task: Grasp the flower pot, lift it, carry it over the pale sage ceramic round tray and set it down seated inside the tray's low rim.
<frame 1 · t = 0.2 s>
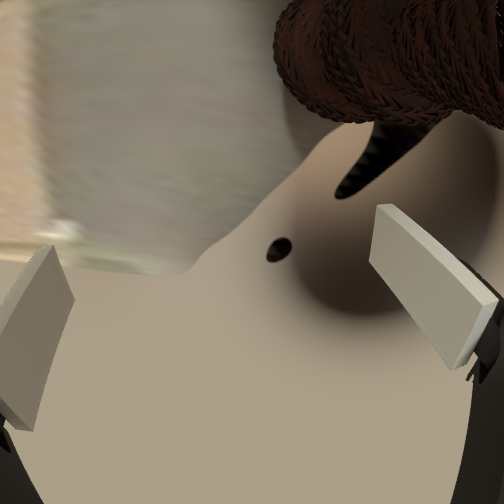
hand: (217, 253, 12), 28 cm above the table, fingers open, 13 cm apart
vase: (322, 54, 33), on the table
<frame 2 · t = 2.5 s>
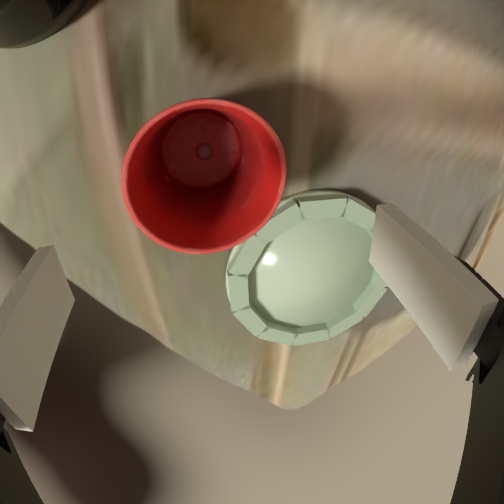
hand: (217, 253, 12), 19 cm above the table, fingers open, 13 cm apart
flower pot: (201, 148, 28), on the table
round tray: (311, 271, 37), on the table
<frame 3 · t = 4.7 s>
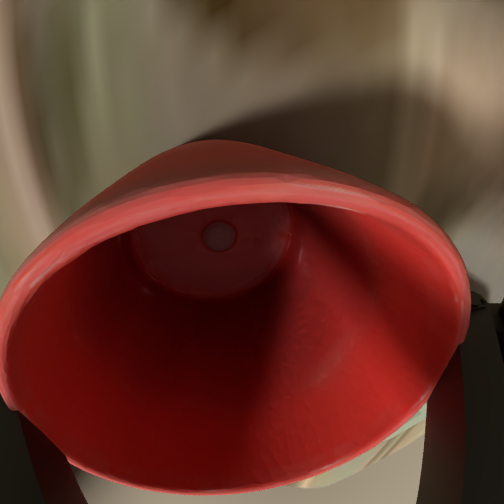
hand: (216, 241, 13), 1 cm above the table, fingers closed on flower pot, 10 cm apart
flower pot: (213, 224, 14), on the table, touching gripper
round tray: (376, 379, 23), on the table
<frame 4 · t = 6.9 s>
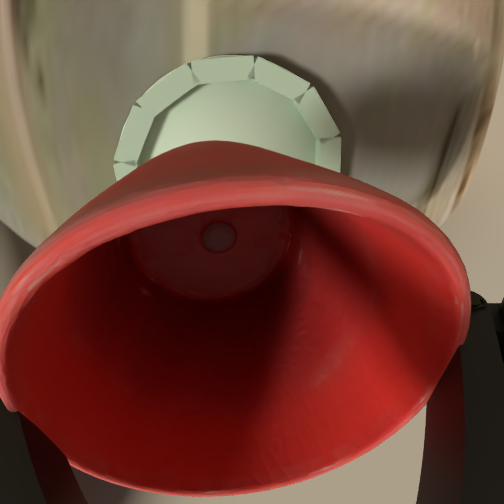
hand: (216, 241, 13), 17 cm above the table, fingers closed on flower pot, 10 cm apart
flower pot: (212, 225, 14), point 15 cm above the table, touching gripper
round tray: (229, 165, 28), on the table
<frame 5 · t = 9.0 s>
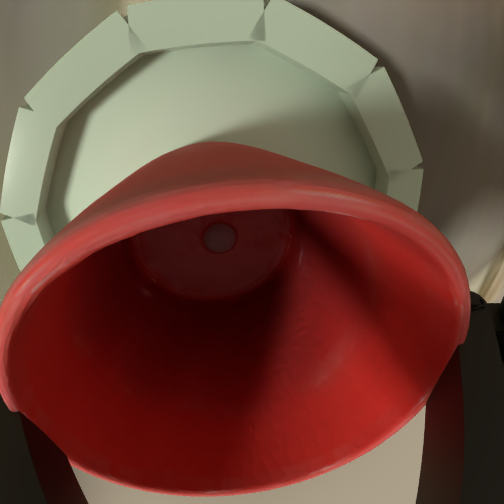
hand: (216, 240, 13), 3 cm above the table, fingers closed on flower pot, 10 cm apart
flower pot: (213, 226, 14), point 1 cm above the table, touching gripper
round tray: (213, 216, 15), on the table
when the fingers open (2 cm above the table, at t = 9.4 s): flower pot moves 2 cm, resting on round tray.
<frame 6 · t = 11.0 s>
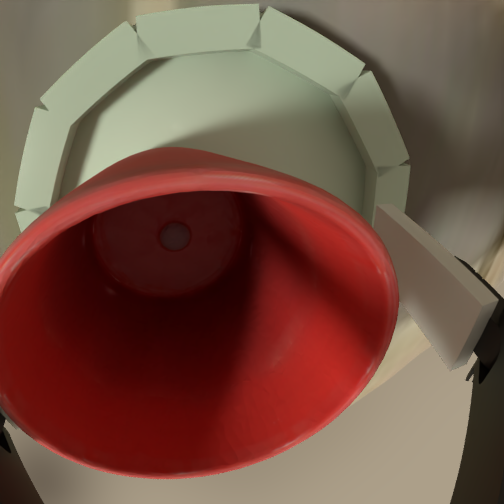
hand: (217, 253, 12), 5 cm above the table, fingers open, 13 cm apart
flower pot: (169, 226, 15), point 1 cm above the table, touching gripper, round tray
round tray: (214, 210, 16), on the table
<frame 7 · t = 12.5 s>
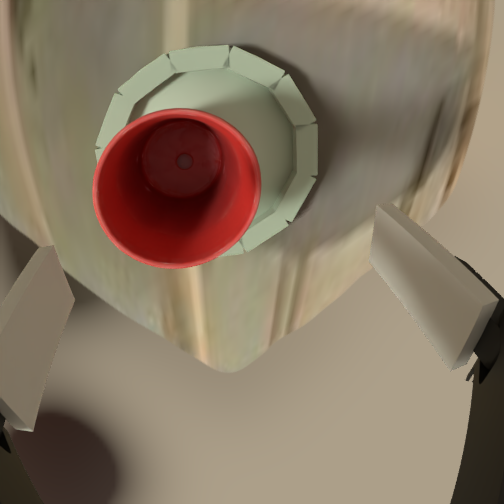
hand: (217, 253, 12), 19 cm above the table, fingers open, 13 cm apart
flower pot: (183, 158, 28), point 1 cm above the table, touching round tray
round tray: (207, 153, 29), on the table
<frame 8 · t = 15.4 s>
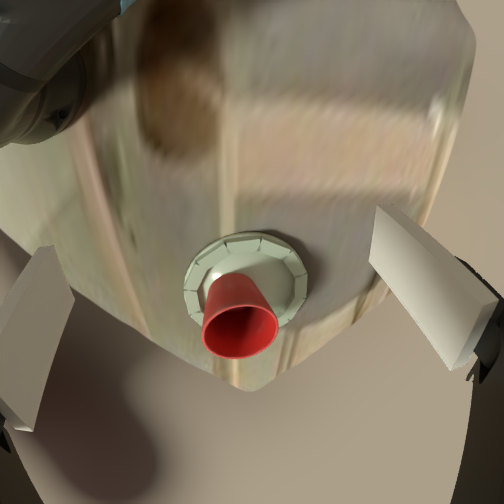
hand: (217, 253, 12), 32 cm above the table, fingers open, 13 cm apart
flower pot: (232, 291, 52), point 1 cm above the table, touching round tray
round tray: (245, 286, 53), on the table
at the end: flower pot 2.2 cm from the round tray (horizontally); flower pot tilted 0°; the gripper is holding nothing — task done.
